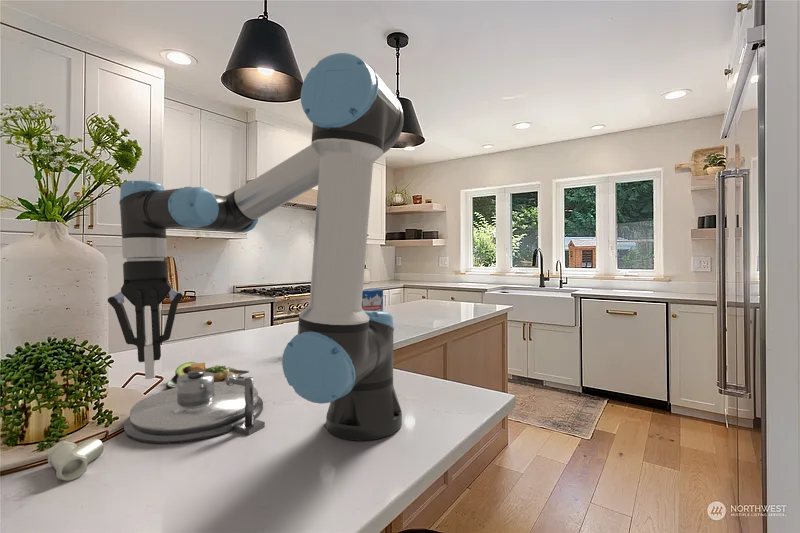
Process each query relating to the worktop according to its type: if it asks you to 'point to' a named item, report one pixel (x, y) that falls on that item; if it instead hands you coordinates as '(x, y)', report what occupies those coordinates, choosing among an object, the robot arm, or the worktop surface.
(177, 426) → the turntable
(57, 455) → the pipe fitting
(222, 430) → the turntable base
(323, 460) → the worktop surface
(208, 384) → the cast cover
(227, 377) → the stand
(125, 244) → the robot arm
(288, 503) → the worktop surface
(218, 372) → the salad plate
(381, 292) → the milk carton
